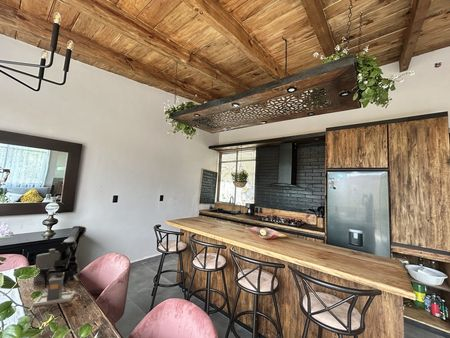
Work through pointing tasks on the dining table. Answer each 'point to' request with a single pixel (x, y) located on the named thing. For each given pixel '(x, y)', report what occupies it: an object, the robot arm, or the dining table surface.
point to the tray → (64, 298)
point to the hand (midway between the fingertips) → (55, 286)
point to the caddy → (55, 287)
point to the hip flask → (46, 263)
